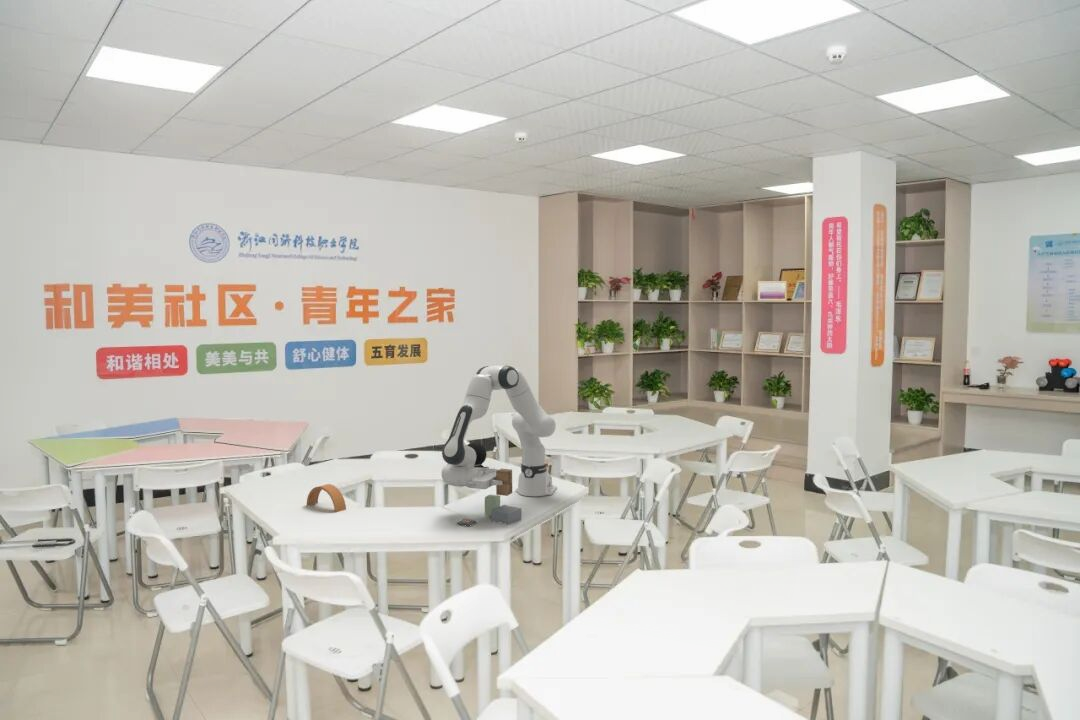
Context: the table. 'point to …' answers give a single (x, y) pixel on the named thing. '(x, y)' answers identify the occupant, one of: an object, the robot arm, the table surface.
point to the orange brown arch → (333, 493)
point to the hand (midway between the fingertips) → (506, 481)
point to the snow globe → (478, 453)
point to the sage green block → (491, 503)
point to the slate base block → (506, 514)
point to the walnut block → (507, 478)
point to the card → (466, 522)
